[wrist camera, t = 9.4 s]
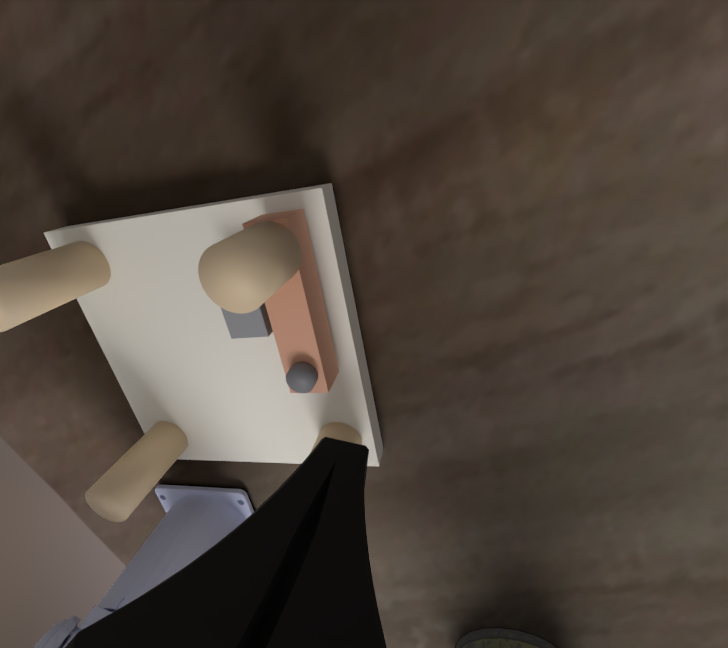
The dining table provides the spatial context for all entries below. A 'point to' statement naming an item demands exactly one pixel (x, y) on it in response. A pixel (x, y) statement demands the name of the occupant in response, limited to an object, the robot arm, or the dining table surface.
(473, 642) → the thermos
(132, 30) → the dining table surface
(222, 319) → the stool seat
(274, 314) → the folding leg
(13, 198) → the dining table surface
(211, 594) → the robot arm
